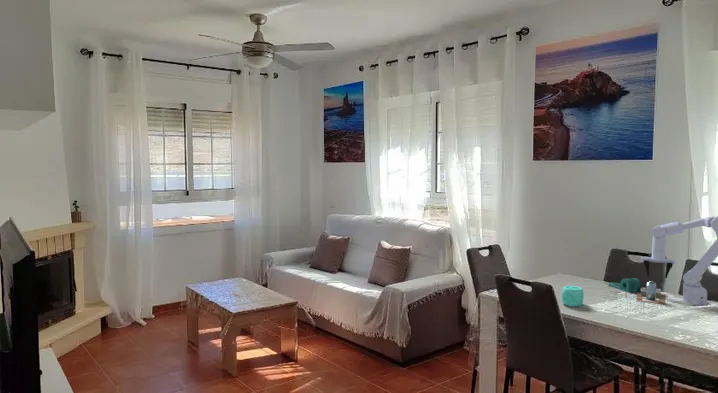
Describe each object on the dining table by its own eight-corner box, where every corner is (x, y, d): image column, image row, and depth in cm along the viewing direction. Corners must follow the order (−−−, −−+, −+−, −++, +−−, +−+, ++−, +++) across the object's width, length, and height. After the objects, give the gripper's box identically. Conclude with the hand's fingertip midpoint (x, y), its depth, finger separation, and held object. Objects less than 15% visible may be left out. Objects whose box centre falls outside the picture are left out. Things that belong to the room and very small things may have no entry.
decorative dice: (579, 307, 237) (580, 290, 236) (561, 304, 241) (562, 288, 241) (583, 303, 243) (583, 287, 243) (565, 301, 248) (566, 284, 247)
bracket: (640, 295, 260) (641, 279, 260) (628, 295, 259) (629, 280, 259) (617, 286, 278) (617, 272, 278) (605, 287, 277) (606, 272, 276)
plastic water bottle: (657, 300, 243) (658, 282, 243) (650, 300, 242) (651, 282, 242) (651, 298, 247) (651, 280, 247) (644, 298, 246) (644, 280, 246)
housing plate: (637, 293, 262) (637, 286, 262) (664, 296, 256) (664, 289, 256) (636, 303, 243) (636, 296, 243) (665, 306, 237) (665, 299, 237)
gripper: (675, 249, 252) (673, 277, 253) (641, 247, 259) (640, 273, 260) (676, 252, 246) (674, 279, 247) (641, 249, 252) (640, 276, 253)
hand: (657, 276), depth 253 cm, fingers open, 7 cm apart
